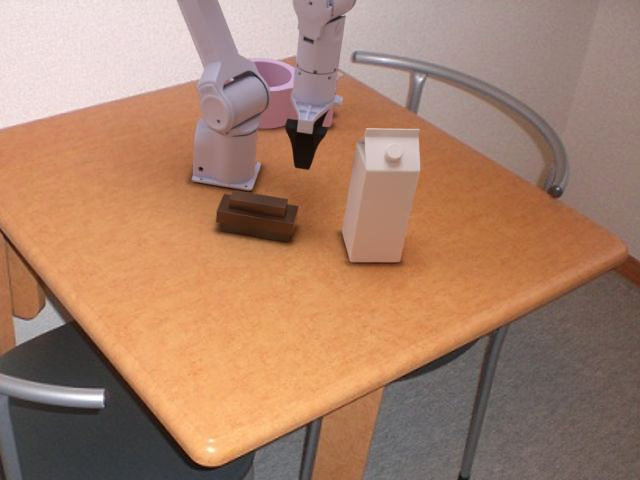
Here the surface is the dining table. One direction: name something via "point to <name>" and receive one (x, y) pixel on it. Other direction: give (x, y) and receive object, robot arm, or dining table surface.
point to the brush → (257, 215)
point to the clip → (280, 93)
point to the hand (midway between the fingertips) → (305, 153)
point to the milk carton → (381, 194)
